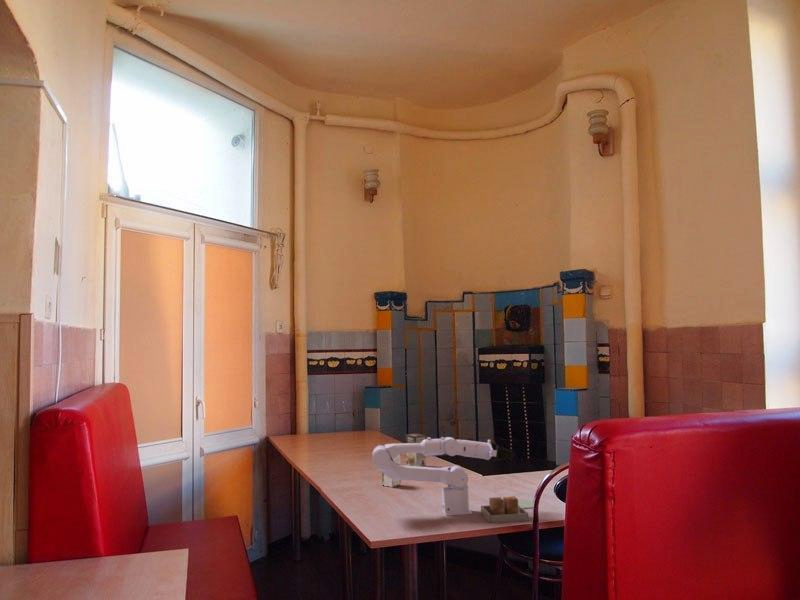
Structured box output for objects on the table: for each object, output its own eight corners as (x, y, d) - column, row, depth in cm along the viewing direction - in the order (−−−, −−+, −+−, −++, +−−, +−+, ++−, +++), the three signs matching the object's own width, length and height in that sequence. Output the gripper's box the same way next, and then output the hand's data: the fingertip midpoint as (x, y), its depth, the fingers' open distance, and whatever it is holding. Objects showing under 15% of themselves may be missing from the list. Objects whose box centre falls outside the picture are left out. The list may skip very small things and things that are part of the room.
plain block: (492, 518, 199) (492, 500, 200) (489, 515, 203) (489, 497, 204) (504, 518, 200) (503, 500, 200) (501, 514, 204) (500, 497, 204)
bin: (490, 523, 195) (489, 515, 195) (481, 513, 207) (480, 505, 207) (528, 521, 196) (528, 513, 196) (517, 511, 208) (517, 503, 209)
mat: (513, 510, 210) (513, 508, 210) (506, 503, 219) (506, 501, 219) (537, 508, 211) (537, 506, 211) (529, 502, 220) (529, 500, 220)
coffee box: (405, 467, 288) (404, 434, 289) (416, 465, 291) (415, 433, 293) (416, 470, 280) (415, 436, 281) (427, 468, 284) (426, 435, 285)
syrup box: (390, 483, 256) (389, 449, 257) (401, 485, 252) (400, 450, 253) (382, 486, 251) (381, 451, 252) (392, 487, 247) (391, 453, 249)
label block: (507, 518, 200) (506, 499, 200) (503, 514, 204) (503, 496, 204) (518, 517, 200) (517, 499, 201) (515, 514, 204) (514, 496, 205)
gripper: (479, 439, 204) (518, 444, 205) (473, 436, 219) (508, 441, 219) (477, 460, 203) (516, 465, 204) (471, 455, 218) (507, 460, 218)
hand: (512, 454), depth 211 cm, fingers open, 7 cm apart
